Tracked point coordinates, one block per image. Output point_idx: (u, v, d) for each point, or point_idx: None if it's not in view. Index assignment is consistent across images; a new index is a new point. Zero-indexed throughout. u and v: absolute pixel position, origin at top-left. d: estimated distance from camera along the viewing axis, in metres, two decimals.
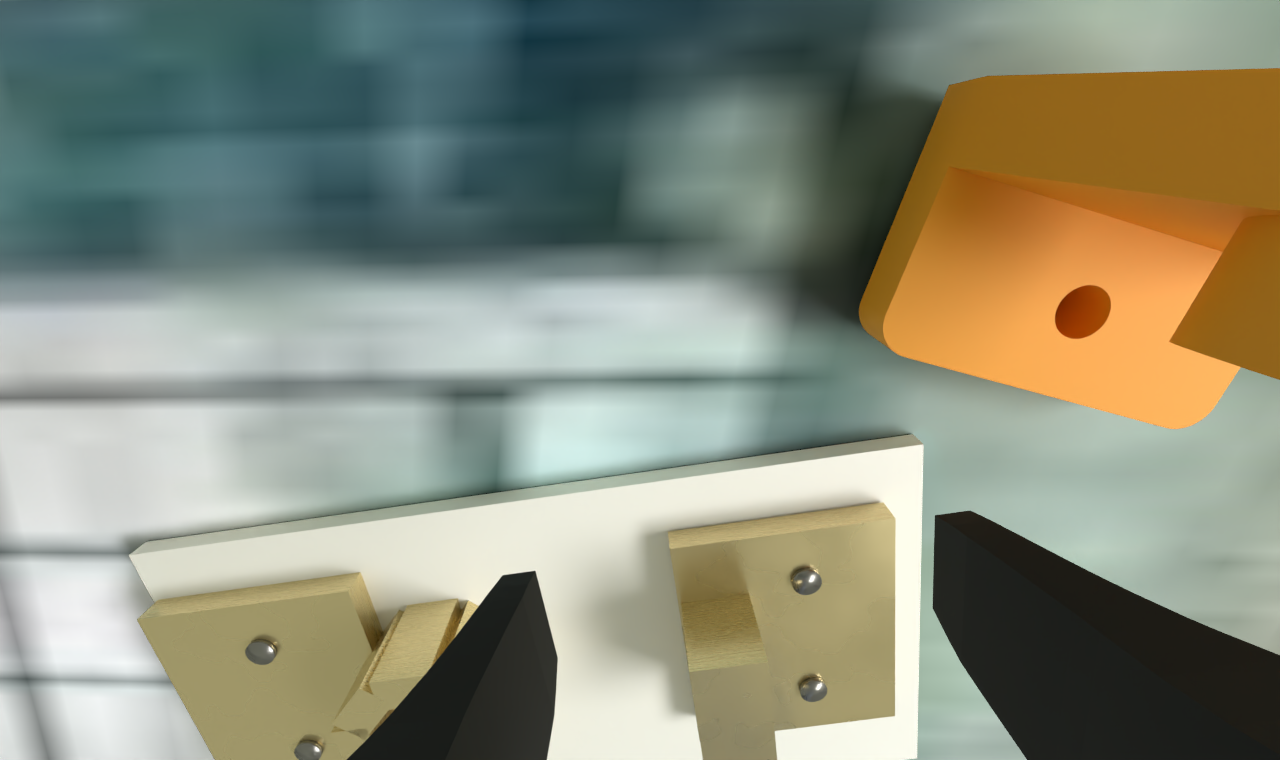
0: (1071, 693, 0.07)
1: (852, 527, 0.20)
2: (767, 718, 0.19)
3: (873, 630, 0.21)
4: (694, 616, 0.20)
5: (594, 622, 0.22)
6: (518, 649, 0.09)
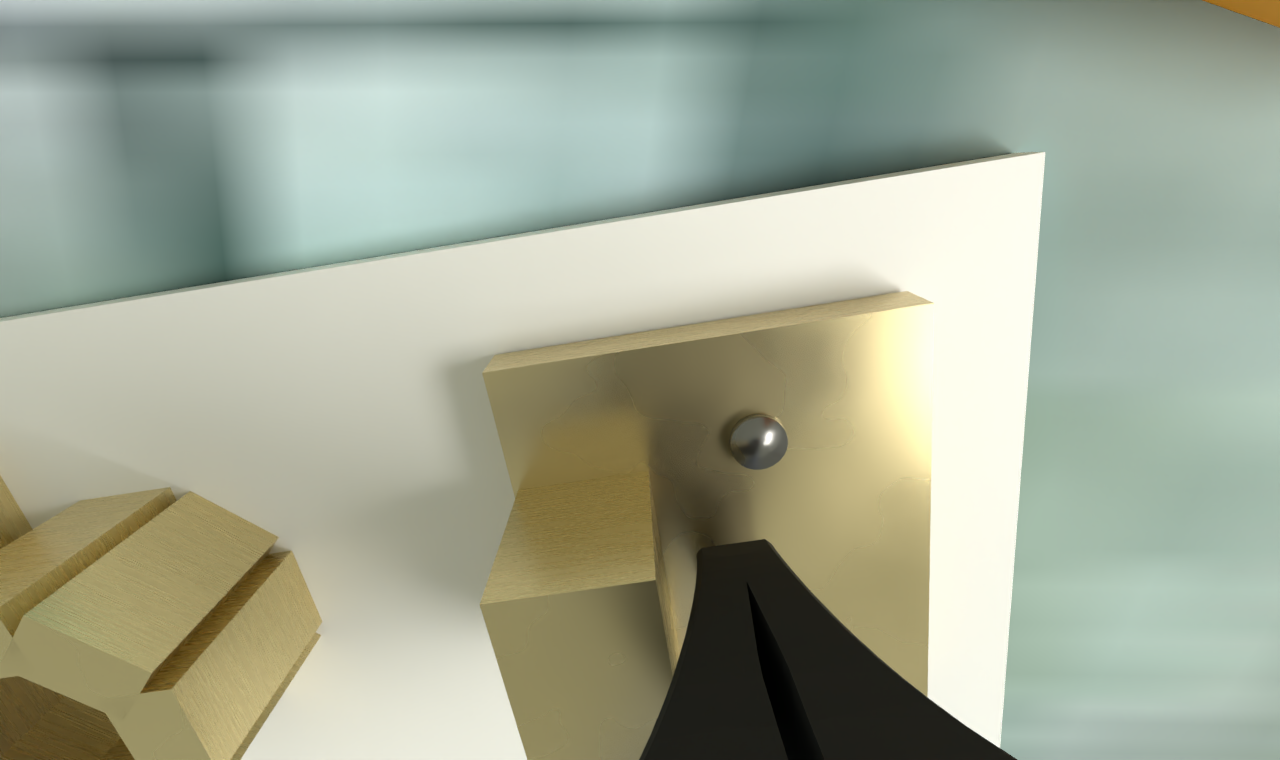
0: (790, 728, 0.08)
1: (847, 324, 0.10)
2: None
3: (888, 545, 0.11)
4: (534, 508, 0.10)
5: (429, 533, 0.12)
6: None
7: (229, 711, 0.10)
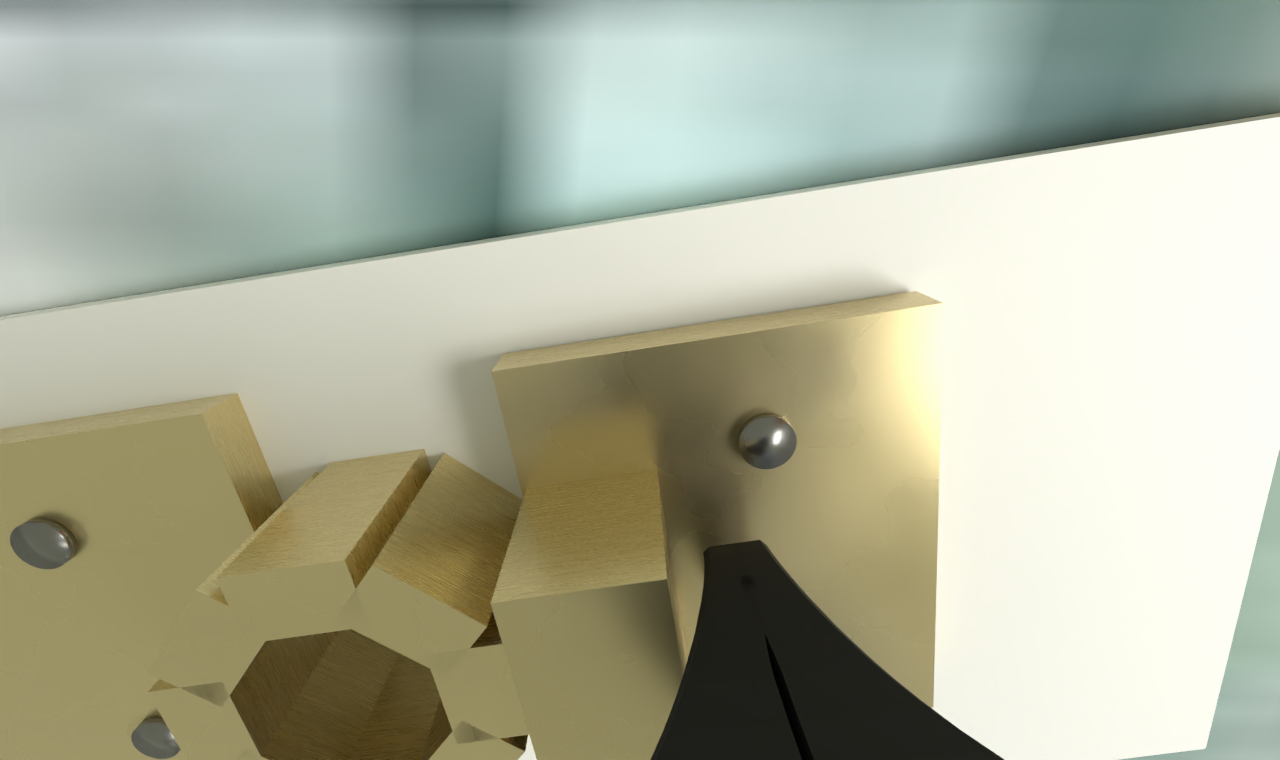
0: None
1: (856, 324, 0.10)
2: None
3: (895, 545, 0.11)
4: (542, 507, 0.10)
5: None
6: None
7: None
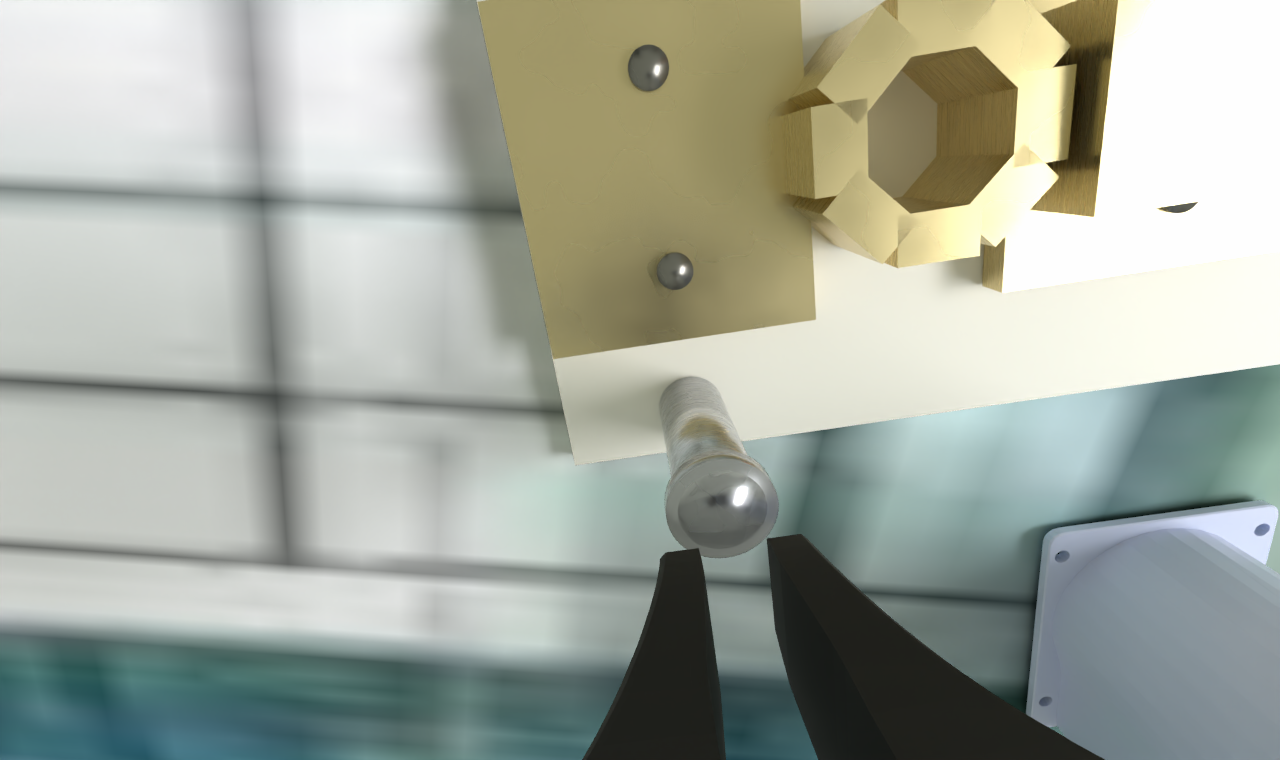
0: (840, 723, 0.07)
1: None
2: (1215, 96, 0.12)
3: None
4: None
5: None
6: (708, 624, 0.09)
7: None
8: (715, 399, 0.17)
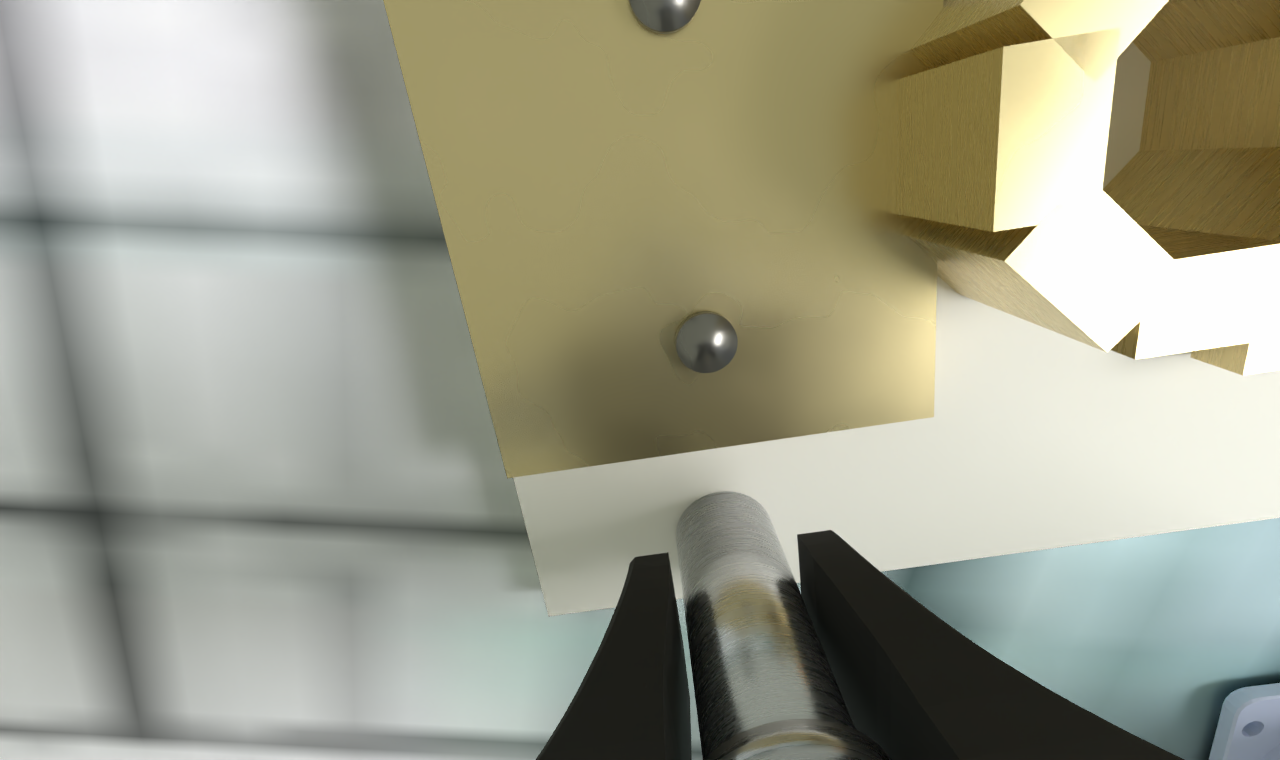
0: (881, 716, 0.07)
1: None
2: None
3: None
4: None
5: None
6: (673, 628, 0.09)
7: None
8: (768, 543, 0.10)
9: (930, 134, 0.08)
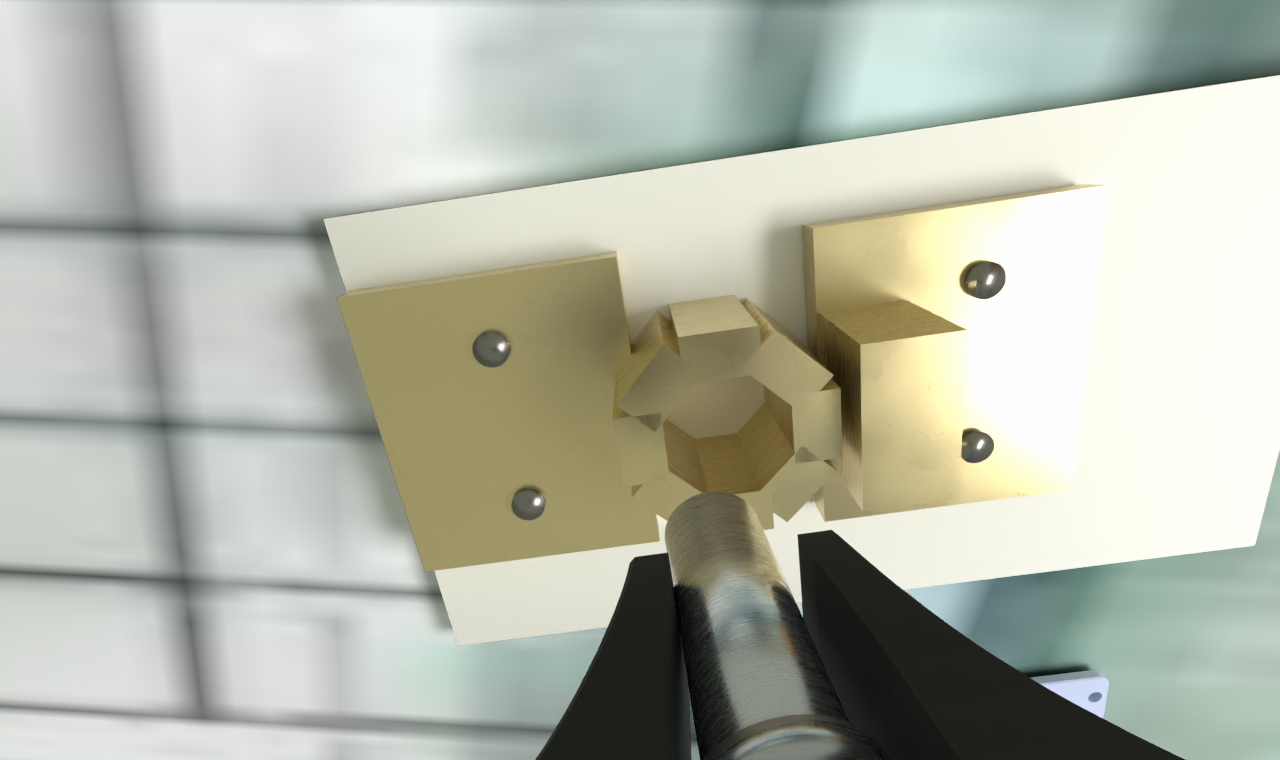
0: (882, 717, 0.07)
1: (1051, 199, 0.15)
2: (954, 423, 0.14)
3: (1059, 360, 0.17)
4: (843, 317, 0.15)
5: None
6: (672, 629, 0.09)
7: None
8: (758, 542, 0.11)
9: None
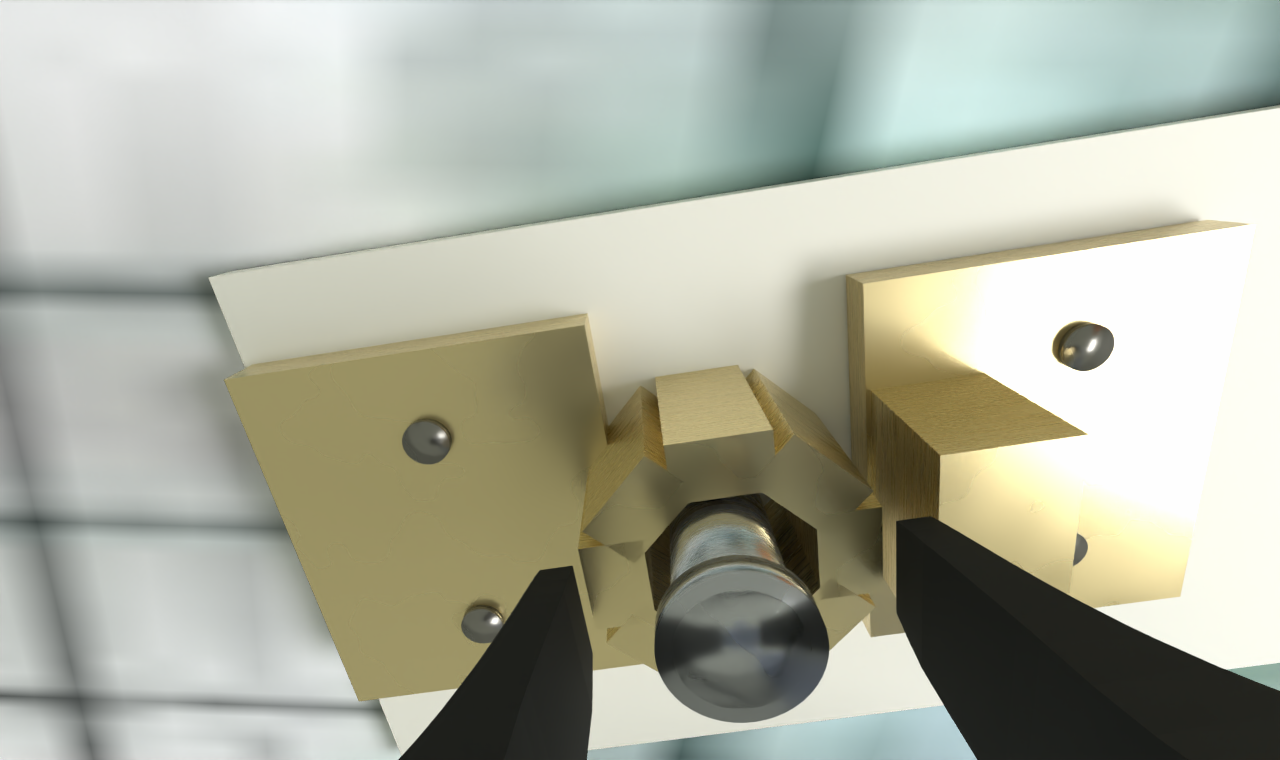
0: (1017, 700, 0.07)
1: (1177, 243, 0.12)
2: (1063, 553, 0.10)
3: (1175, 443, 0.13)
4: (904, 400, 0.12)
5: None
6: (561, 643, 0.09)
7: None
8: None
9: None
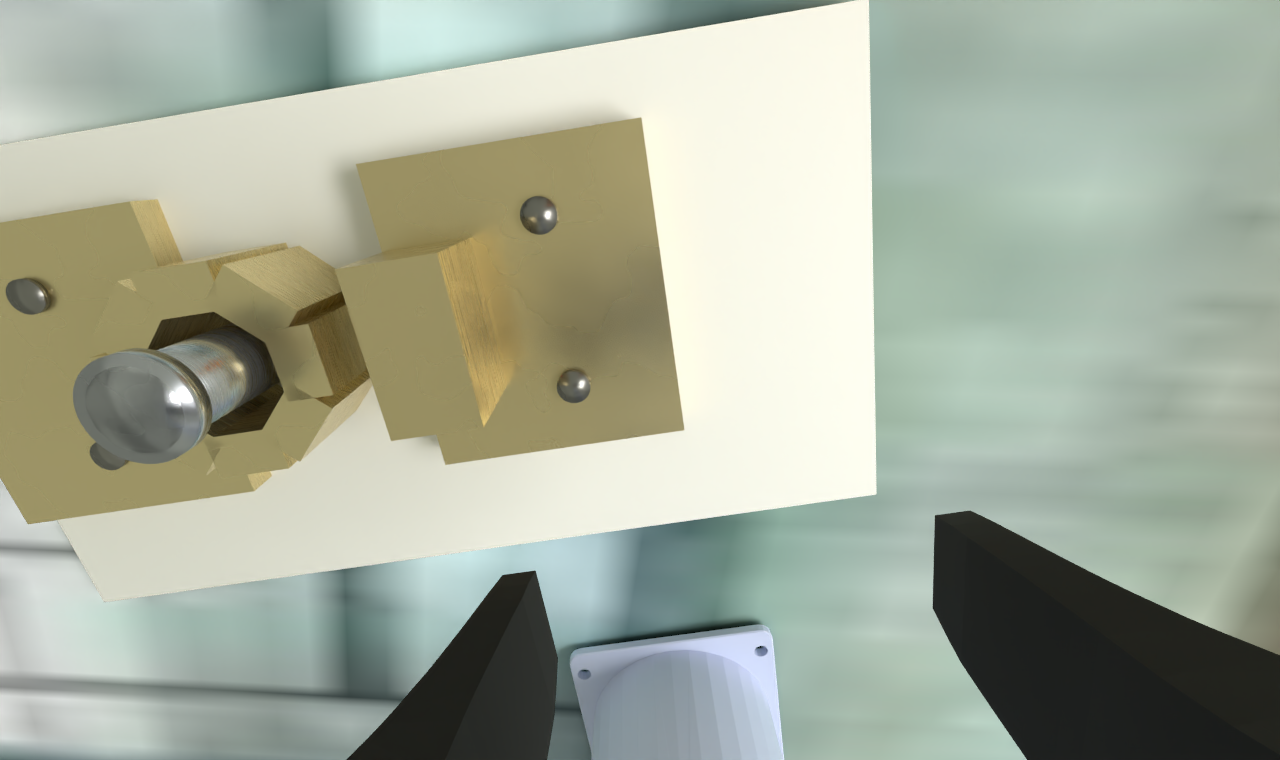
0: (1072, 693, 0.07)
1: (588, 132, 0.15)
2: (455, 350, 0.14)
3: (637, 297, 0.17)
4: (389, 252, 0.16)
5: None
6: (518, 649, 0.09)
7: (336, 363, 0.16)
8: None
9: None
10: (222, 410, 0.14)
